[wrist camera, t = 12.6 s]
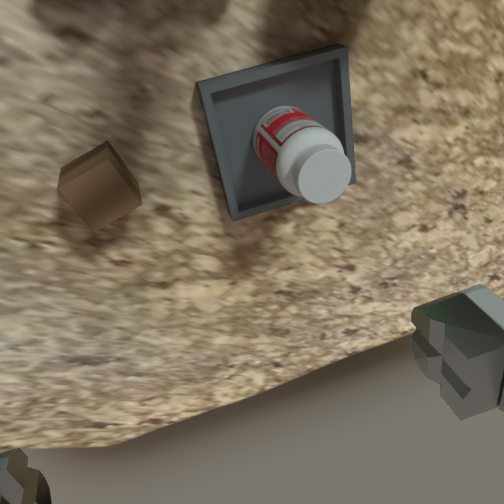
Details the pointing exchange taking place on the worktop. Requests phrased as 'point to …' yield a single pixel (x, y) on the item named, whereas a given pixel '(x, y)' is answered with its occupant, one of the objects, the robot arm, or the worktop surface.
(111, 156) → the walnut cube
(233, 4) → the worktop surface
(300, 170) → the pill bottle
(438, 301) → the robot arm
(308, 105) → the tray
